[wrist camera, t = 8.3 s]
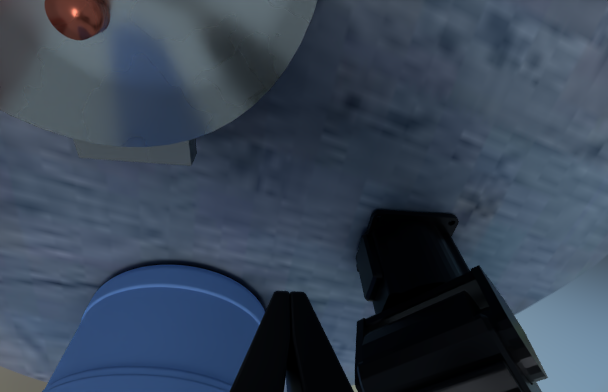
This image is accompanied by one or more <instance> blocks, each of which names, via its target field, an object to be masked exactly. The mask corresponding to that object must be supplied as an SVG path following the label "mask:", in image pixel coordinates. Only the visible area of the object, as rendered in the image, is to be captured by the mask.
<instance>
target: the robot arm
mask: <svg viewBox="0 0 608 392" xmlns="http://www.w3.org/2000/svg"><path fill="white" fill-rule="evenodd" d="M378 216H381V217H380V218H377V217H378ZM450 221H451V222H450ZM458 222H459V221H458V219H457V217H456V216H455V215H453V214H438V213H422V212H406V211H389V210H377V211H375V212H373V214H372V216H371V219H370V222H369V226H368V229H367V232H366V234H364V235H363V236H362V239H361V242H360V245H359V249H358V252H357V256H356V260H357V265H356V267H357V271H358V272H359V274H360V278H361V283H362V288H363V292H364V297H365V299H366V300H367V301H373V305H374V310H375V315H373V316H371V317H369V318H367V319H365V318H363V319H361V320H359V321H357V334H356V356H355V386H356V389H357V390H358V392H541V390H540V388H539V386H538V385H537V383H536V382H537V381H540V380H543V379H546V378H548V377H547V375H546V373H545V371H544V369H543V367H542V365H541V363H540V361H539V359H538V357H537V355H536V354H535V351H534V349H533V348H532V346H531V344H530V342H529V340H528V338H527V336H526V334H525V332H524V331H523V329H522V327H521V326H520V324H519V323H518V321H517V319H516V318H515V316H514V315H513V313H512V311H511V310H510V308H509V307H508V305H507V303H506V302H505V300H504V299H503V297H502V296H501V295H500V293H499V292H498V291H497V289H496V288H495V286H494V285H493V284H492V282H491V281H490V280H489V278H488V277H487V275H486V274H485V273H484V271H483V270H482V268H481V267H480V266H476V267H474V268H472V269H471V271H470V270H469V268H468V266H467V265H466V263H465V261H464V259H463V257H462V256H461V254H460V252H459V250H458V248H457V247H456V245H455V243H454V241H453V240H452V238H451V236H452V234H453V232H454V230H455V228H456V227H457V225H458ZM285 378H286V385H287V392H354V391H353V389H352V387H351V385H350V383H349V381H348V379H347V377H346V375H345V373H344V371H343V369H342V367H341V365H340V363H339V360H338V358H337V356H336V354H335V352H334V350H333V348H332V346H331V344H330V342H329V340H328V338H327V336H326V334H325V332H324V330H323V328H322V326H321V324H320V322H319V320H318V318H317V316H316V314H315V312H314V310H313V307H312V305H311V303H310V301H309V299H308V297H307V295H306V294H305V293H304V292H295V291H292V292H290V293H289V292H288V291H275V292H274V294H273V296H272V298H271V300H270V302H269V305H268V307H267V309H266V311H265V314H264V316H263V318H262V320H261V322H260V325H259V327H258V329H257V331H256V334H255V336H254V338H253V340H252V343H251V345H250V347H249V349H248V351H247V354H246V356H245V358H244V360H243V363H242V365H241V367H240V369H239V372H238V374H237V376H236V378H235V380H234V383H233V385H232V387H231V389H230V392H284V385H285Z"/></svg>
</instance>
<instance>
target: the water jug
mask: <svg viewBox="0 0 608 392" xmlns="http://www.w3.org/2000/svg"><path fill="white" fill-rule="evenodd" d="M264 314H265V311H264V309H263V307H262V305H261V303H260V302H259V300H258V299H257V298H256V297H255V296H254V295H253V294H252V293H251V292H250V291H249V290H248V289H247V288H245V287H244V286H242V285H241V284H239V283H238V282H236V281H234V280H232V279H231V278H229V277H226V276H224V275H222V274H219V273H216V272H213V271H210V270H206V269H202V268H198V267H192V266H185V265H152V266H145V267H140V268H136V269H132V270H129V271H126V272H124V273H121V274H119V275H117V276H115V277H113V278H112V279H110V280H109V281H107V282H106V283H105V284H103V285H102V286H101V287H100V288H99V289H98V290H97V292H96V293H95V294H94V296H93V297H92V299H91V301H90V303H89V305H88V306H87V308H86V310H85V312H84V314H83V316H82V320H81V323H80V325H79V327H78V329H77V331H76V333H75V334H74V336H73V338H72V340H71V342H70V344H69V345H68V347H67V349H66V351H65V353H64V355H63V356H62V358H61V360H60V362H59V364H58V366H57V367H56V369H55V371H54V373H53V375H52V377H51V378H50V380H49V382H48V384H47V386H46V388H45V389H44V390H43V391H42V392H230V389H231V387H232V385H233V383H234V380H235V378H236V376H237V374H238V372H239V369H240V367H241V365H242V363H243V360H244V358H245V356H246V354H247V351H248V349H249V347H250V345H251V343H252V340H253V338H254V336H255V334H256V331H257V329H258V327H259V325H260V322H261V320H262V318H263V316H264Z"/></svg>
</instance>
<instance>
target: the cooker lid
mask: <svg viewBox="0 0 608 392" xmlns="http://www.w3.org/2000/svg"><path fill="white" fill-rule="evenodd" d="M316 3H317V0H0V110H1V111H3V112H5V113H7V114H9V115H11V116H13V117H16V118H18V119H20V120H23V121H25V122H27V123H29V124H32V125H34V126H36V127H39V128H41V129H44V130H47V131H51V132H54V133H57V134H60V135H63V136H66V137H69V138H73V139H78V140H82V141H86V142H91V143H95V144H103V145H111V146H118V147H152V146H162V145H170V144H175V143H179V142H183V141H188V140H192V139H195V138H197V137H200V136H203V135H205V134H208V133H211V132H213V131H215V130H217V129H219V128H221V127H223V126H224V125H226V124H228V123H230V122H232V121H234V120H235V119H236V118H238V117H239V116H240V115H242V114H243V113H244V112H246V111H247V110H249V109H250V108H251V107H252V106H254V105H255V104H256V103H257V102H258V101H259V100H260V99H261V98H262V97H263V96H264V95H265V94H266V93H267V92H268V91H269V90H270V89H271V87H272V86H273V85H274V84H275V82H276V81H277V80H278V79H279V77H280V76H281V75H282V73H283V72H284V71H285V70H286V68H287V66H288V65H289V63H290V61H291V60H292V58H293V56H294V54H295V53H296V51H297V49H298V48H299V46H300V44H301V42H302V40H303V37H304V35H305V33H306V30H307V28H308V26H309V23H310V21H311V18H312V16H313V13H314V10H315V7H316Z"/></svg>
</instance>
